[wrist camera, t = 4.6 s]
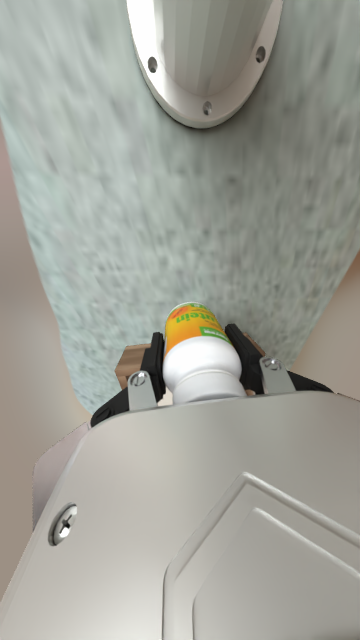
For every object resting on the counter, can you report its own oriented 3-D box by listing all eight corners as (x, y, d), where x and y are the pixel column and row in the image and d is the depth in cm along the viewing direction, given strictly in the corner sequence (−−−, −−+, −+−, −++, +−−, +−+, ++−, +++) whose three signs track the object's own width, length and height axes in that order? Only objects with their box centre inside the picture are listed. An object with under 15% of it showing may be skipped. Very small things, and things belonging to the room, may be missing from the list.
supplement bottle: (217, 300, 14) (284, 378, 6) (211, 342, 17) (253, 441, 8) (164, 300, 14) (154, 384, 6) (166, 343, 17) (161, 447, 8)
